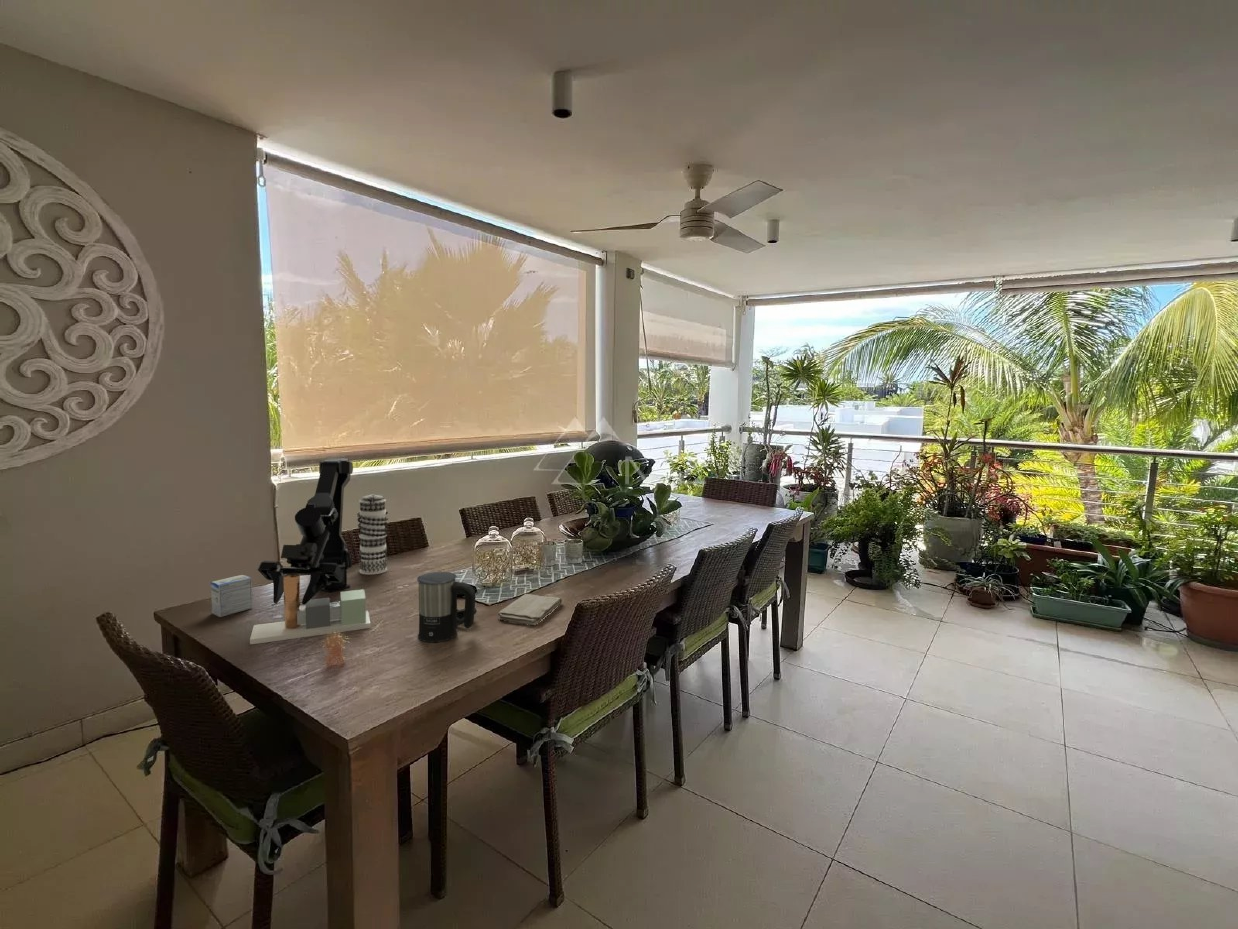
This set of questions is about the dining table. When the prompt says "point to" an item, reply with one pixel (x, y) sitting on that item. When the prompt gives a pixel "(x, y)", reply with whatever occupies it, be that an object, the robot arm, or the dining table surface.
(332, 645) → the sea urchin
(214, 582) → the medicine box
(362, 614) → the socket block
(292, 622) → the tube
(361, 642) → the dining table surface
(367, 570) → the decorative candle
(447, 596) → the milk frother
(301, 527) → the robot arm
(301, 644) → the dining table surface
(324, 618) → the tube stand
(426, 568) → the dining table surface
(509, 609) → the washcloth
